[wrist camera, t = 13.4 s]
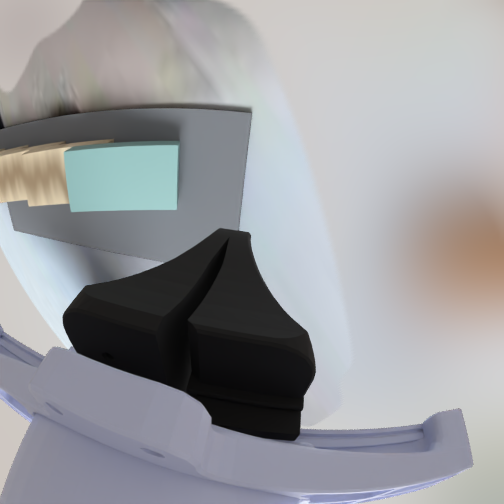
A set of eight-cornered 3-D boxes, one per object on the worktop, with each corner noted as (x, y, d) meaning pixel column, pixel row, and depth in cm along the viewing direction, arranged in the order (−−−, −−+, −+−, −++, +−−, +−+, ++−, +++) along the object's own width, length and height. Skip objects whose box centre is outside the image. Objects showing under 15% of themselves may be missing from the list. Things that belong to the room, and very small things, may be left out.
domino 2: (111, 201, 20) (28, 206, 18) (116, 193, 22) (37, 198, 20) (107, 142, 18) (20, 154, 16) (113, 138, 19) (30, 149, 17)
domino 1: (63, 196, 21) (0, 202, 19) (70, 189, 22) (8, 195, 20) (57, 145, 18) (-8, 158, 16) (65, 141, 19) (2, 153, 18)
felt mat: (234, 272, 25) (233, 274, 25) (16, 228, 26) (14, 230, 26) (252, 113, 18) (251, 113, 17) (-1, 129, 19) (-3, 130, 19)
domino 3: (176, 209, 20) (71, 211, 18) (178, 200, 22) (78, 203, 20) (178, 145, 17) (63, 151, 16) (179, 140, 19) (72, 146, 17)
